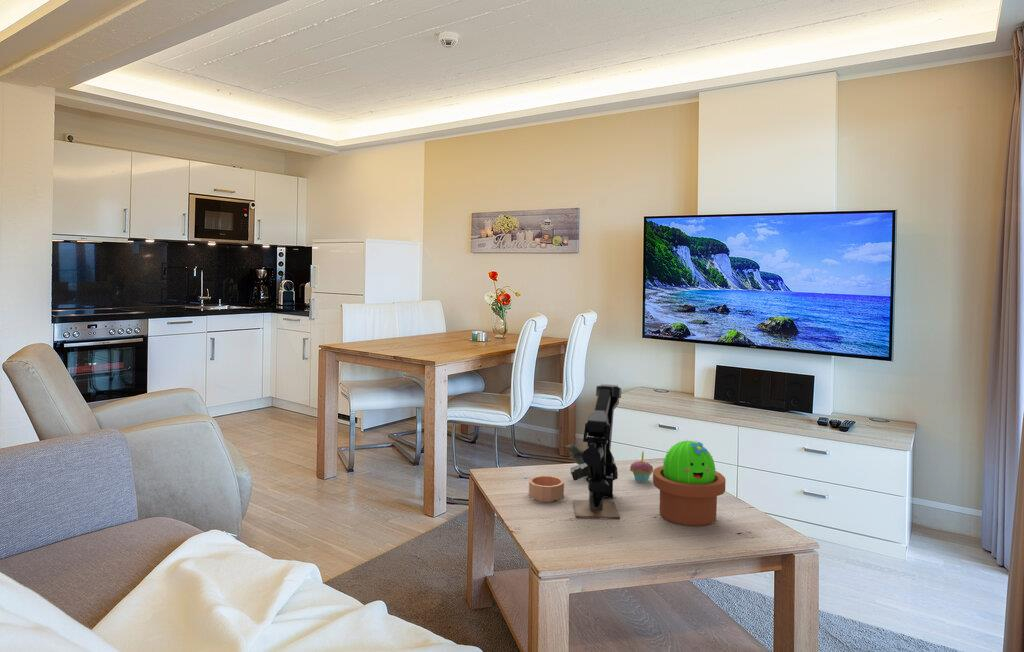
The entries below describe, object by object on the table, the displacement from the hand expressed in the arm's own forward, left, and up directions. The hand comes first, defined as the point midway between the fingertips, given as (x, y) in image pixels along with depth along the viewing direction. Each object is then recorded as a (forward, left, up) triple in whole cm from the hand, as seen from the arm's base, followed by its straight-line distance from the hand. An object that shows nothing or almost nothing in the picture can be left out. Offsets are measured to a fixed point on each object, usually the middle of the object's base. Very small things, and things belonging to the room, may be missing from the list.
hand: (595, 504), depth 205 cm
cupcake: (-20, -32, -2) cm, 38 cm away
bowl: (+16, -13, -2) cm, 21 cm away
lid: (0, 0, -2) cm, 2 cm away
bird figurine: (-1, -37, -2) cm, 37 cm away
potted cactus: (-29, +3, -2) cm, 29 cm away
